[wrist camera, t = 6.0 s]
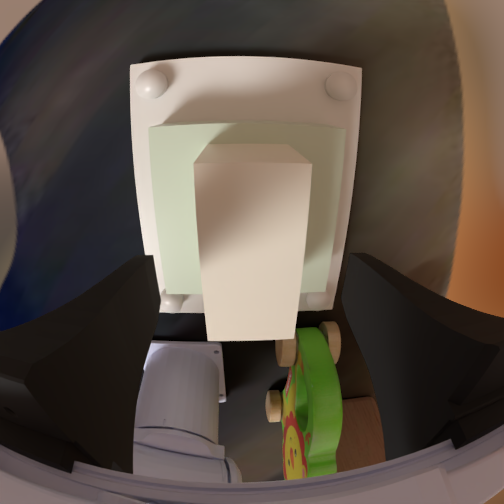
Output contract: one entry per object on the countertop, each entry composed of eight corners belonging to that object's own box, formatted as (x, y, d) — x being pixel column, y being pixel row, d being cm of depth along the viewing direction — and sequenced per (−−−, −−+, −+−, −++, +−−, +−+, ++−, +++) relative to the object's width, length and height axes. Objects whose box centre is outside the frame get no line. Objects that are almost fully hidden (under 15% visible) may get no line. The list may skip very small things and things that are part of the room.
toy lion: (274, 313, 24) (303, 494, 11) (336, 311, 25) (397, 473, 11) (262, 411, 32) (272, 527, 18) (306, 408, 32) (327, 520, 19)
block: (298, 400, 31) (326, 560, 13) (375, 392, 32) (421, 530, 14) (285, 436, 36) (302, 562, 18) (351, 429, 36) (380, 544, 19)
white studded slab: (328, 301, 24) (342, 334, 20) (158, 304, 23) (148, 338, 20) (356, 69, 15) (383, 63, 12) (135, 66, 15) (111, 59, 11)
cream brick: (280, 280, 18) (293, 338, 13) (213, 281, 18) (208, 340, 13) (288, 144, 14) (312, 163, 10) (207, 144, 14) (193, 163, 9)
